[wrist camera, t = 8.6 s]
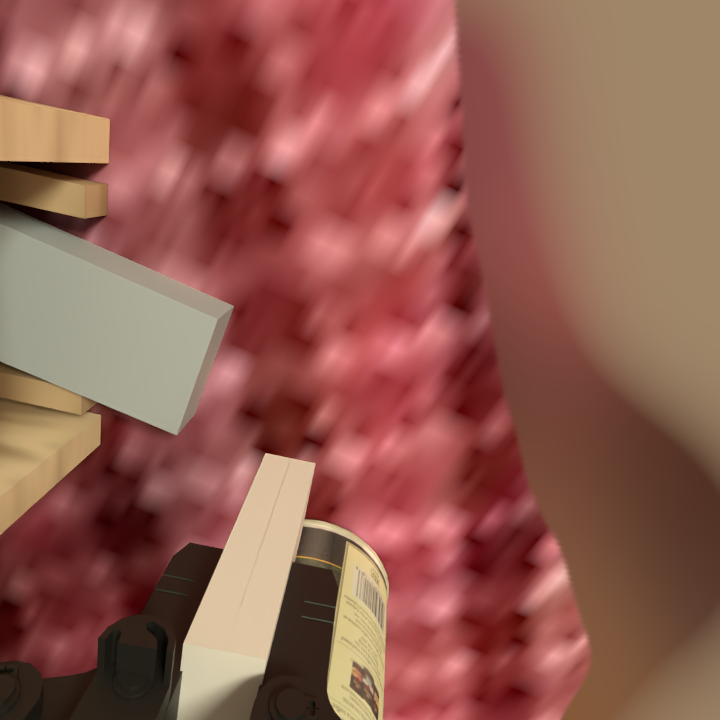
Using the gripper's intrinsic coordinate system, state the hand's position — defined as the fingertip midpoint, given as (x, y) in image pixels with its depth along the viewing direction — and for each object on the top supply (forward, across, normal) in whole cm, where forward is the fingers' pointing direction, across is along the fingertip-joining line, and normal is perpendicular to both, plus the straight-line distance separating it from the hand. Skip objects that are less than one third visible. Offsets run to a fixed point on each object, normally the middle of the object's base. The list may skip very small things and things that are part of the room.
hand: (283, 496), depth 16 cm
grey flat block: (+14, -13, 0) cm, 19 cm away
